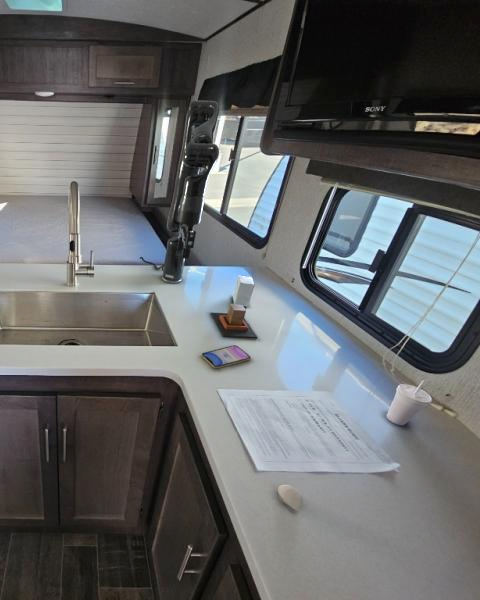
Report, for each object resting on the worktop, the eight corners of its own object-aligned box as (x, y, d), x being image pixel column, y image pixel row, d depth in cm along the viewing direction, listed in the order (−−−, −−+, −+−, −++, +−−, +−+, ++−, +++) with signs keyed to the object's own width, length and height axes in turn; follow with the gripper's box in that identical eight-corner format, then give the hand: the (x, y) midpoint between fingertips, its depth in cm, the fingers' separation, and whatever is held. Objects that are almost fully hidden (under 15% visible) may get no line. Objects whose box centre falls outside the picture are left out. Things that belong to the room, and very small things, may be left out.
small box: (248, 307, 135) (255, 284, 130) (233, 304, 137) (240, 282, 132) (246, 298, 142) (252, 277, 137) (232, 296, 144) (238, 275, 138)
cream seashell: (293, 489, 68) (297, 482, 66) (306, 515, 63) (311, 507, 62) (272, 488, 68) (276, 481, 67) (284, 513, 63) (288, 506, 62)
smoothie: (378, 419, 84) (405, 379, 78) (381, 406, 88) (407, 367, 82) (411, 434, 80) (442, 393, 74) (412, 419, 84) (442, 379, 78)
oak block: (225, 320, 124) (229, 304, 120) (236, 321, 124) (241, 304, 120) (228, 327, 120) (233, 310, 117) (240, 327, 120) (246, 310, 116)
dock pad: (210, 314, 130) (211, 309, 129) (240, 315, 129) (242, 311, 128) (223, 337, 116) (224, 332, 115) (257, 339, 115) (258, 334, 114)
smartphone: (252, 359, 105) (253, 357, 104) (215, 370, 100) (215, 367, 100) (235, 346, 111) (235, 344, 110) (199, 355, 106) (199, 353, 106)
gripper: (208, 214, 102) (198, 261, 110) (196, 204, 114) (188, 247, 122) (184, 213, 102) (175, 260, 110) (175, 203, 115) (168, 246, 123)
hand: (182, 253), depth 116 cm, fingers open, 8 cm apart
